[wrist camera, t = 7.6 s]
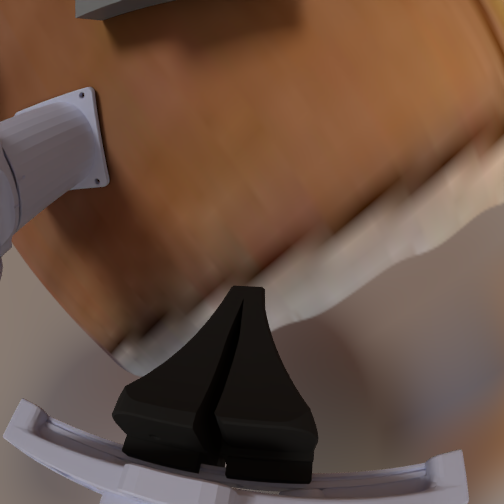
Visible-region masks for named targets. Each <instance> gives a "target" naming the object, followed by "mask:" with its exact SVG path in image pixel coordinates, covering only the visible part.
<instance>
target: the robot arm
mask: <svg viewBox="0 0 504 504" xmlns="http://www.w3.org/2000/svg"><path fill="white" fill-rule="evenodd" d="M82 93H84V98H83V97H82ZM97 179H99V181H100V183H99V182H98V181H97ZM109 182H110V180H109V175H108V170H107V165H106V160H105V155H104V149H103V144H102V138H101V132H100V126H99V120H98V113H97V106H96V98H95V91H94V89H93V88H92V87H86V88H83V89H80V90H76V91H73V92H70V93H67V94H64V95H61V96H58V97H55V98H52V99H50V100H47V101H44V102H42V103H39V104H36V105H34V106H31V107H29V108H26V109H24V110H22V111H19V112H17V113H16V114H15V116H14V117H11V118H9V119H6V120H4V121H1V122H0V279H1V276H2V269H3V265H2V259H1V257H2V256H3V255H4V254H5V253H6V252H7V251H8V250H9V249H10V248H11V247H12V243H11V239H12V236H13V234H15V233H16V232H17V231H18V230H19V229H20V228H22V227H23V226H24V225H25V224H26V223H28V222H29V221H30V220H31V219H32V218H34V217H35V216H36V215H37V214H39V213H40V212H41V211H42V210H44V209H45V208H46V207H47V206H49V205H50V204H51V203H52V202H54V201H55V200H56V199H58V198H59V197H60V196H62V195H63V194H64V193H66V192H67V191H69V190H74V189H85V188H96V187H105V186H107V185H108V184H109ZM112 417H113V419H114V421H115V422H116V423H117V424H118V426H119V427H120V428H121V429H122V430H123V431H124V432H125V433H126V434H127V437H126V439H125V442H124V445H123V444H119V443H116V442H113V441H110V440H107V439H104V438H101V437H99V436H96V435H93V434H91V433H88V432H85V431H83V430H80V429H77V428H75V427H73V426H70V425H68V424H66V423H63V422H61V421H59V420H57V419H55V418H52V417H50V416H48V414H47V413H46V412H45V411H44V410H43V409H42V408H40V407H39V406H37V405H35V404H33V403H31V402H29V401H28V400H26V399H24V398H22V399H21V401H20V403H19V405H18V407H17V409H16V410H15V412H14V414H13V416H12V418H11V420H10V422H9V424H8V426H7V428H6V431H5V432H4V435H3V438H4V439H6V440H7V441H8V442H9V443H11V444H12V445H13V446H15V447H16V448H18V449H19V450H20V451H22V452H23V453H25V454H26V455H27V456H29V457H30V458H32V459H33V460H35V461H37V462H38V463H40V464H42V465H44V466H45V467H47V468H49V469H51V470H53V471H54V472H56V473H58V474H60V475H62V476H64V477H66V478H68V479H70V480H71V481H74V482H75V483H78V484H80V485H82V486H84V487H86V488H88V489H90V490H92V491H95V492H97V493H99V494H102V497H101V500H100V504H467V503H468V502H469V495H468V487H467V479H466V471H465V465H464V459H463V453H462V450H461V449H459V450H455V451H451V452H447V453H443V454H439V455H436V456H433V457H432V458H430V459H428V460H427V461H426V463H421V464H415V465H410V466H403V467H397V468H389V469H381V470H372V471H362V472H348V473H323V474H322V473H318V474H312V462H313V459H314V449H315V447H316V445H317V443H318V432H317V428H316V424H315V422H314V418H313V416H312V413H311V410H310V408H309V407H308V405H307V404H306V402H305V401H304V399H303V398H302V397H301V395H300V394H299V392H298V390H297V389H296V387H295V385H294V384H293V382H292V380H291V379H290V377H289V374H288V373H287V371H286V369H285V367H284V365H283V363H282V360H281V358H280V356H279V354H278V351H277V349H276V346H275V344H274V341H273V338H272V335H271V331H270V328H269V324H268V320H267V316H266V311H265V289H264V288H263V287H249V286H233V287H231V289H230V291H229V292H228V294H227V295H226V297H225V298H224V300H223V301H222V303H221V304H220V306H219V307H218V308H217V310H216V311H215V312H214V314H213V315H212V316H211V317H210V319H209V320H208V321H207V322H206V323H205V325H204V326H203V327H202V328H201V329H200V330H199V331H198V333H197V334H196V335H195V336H194V337H193V338H192V339H191V340H190V341H189V342H188V343H187V344H186V345H185V346H184V347H182V348H181V349H180V350H179V351H178V352H177V353H175V354H174V355H173V356H172V357H171V358H169V359H168V360H167V361H166V362H164V363H163V364H161V365H160V366H158V367H157V368H156V369H154V370H153V371H151V372H150V373H148V374H147V375H145V376H143V377H141V378H140V379H138V380H136V381H134V382H132V383H130V384H129V385H127V386H125V388H124V390H123V391H122V393H121V394H120V396H119V398H118V401H117V403H116V406H115V408H114V411H113V413H112ZM225 462H226V464H227V466H226V468H225ZM231 487H234V488H231ZM235 488H243V489H253V490H264V491H280V493H279V495H277V494H268V493H261V492H254V491H247V490H241V489H235Z"/></svg>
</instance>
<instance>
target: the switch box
mask: <svg viewBox="0 0 504 504" xmlns="http://www.w3.org/2000/svg"><path fill="white" fill-rule="evenodd" d="M170 1H175V0H76V3H75V9H76V18H83V19H93V20H105V19H108V18H111V17H114V16H117V15H120V14H124V13H127V12H130V11H134V10H137V9H141V8H145V7H149V6H153V5H157V4H161V3H165V2H170Z"/></svg>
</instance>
